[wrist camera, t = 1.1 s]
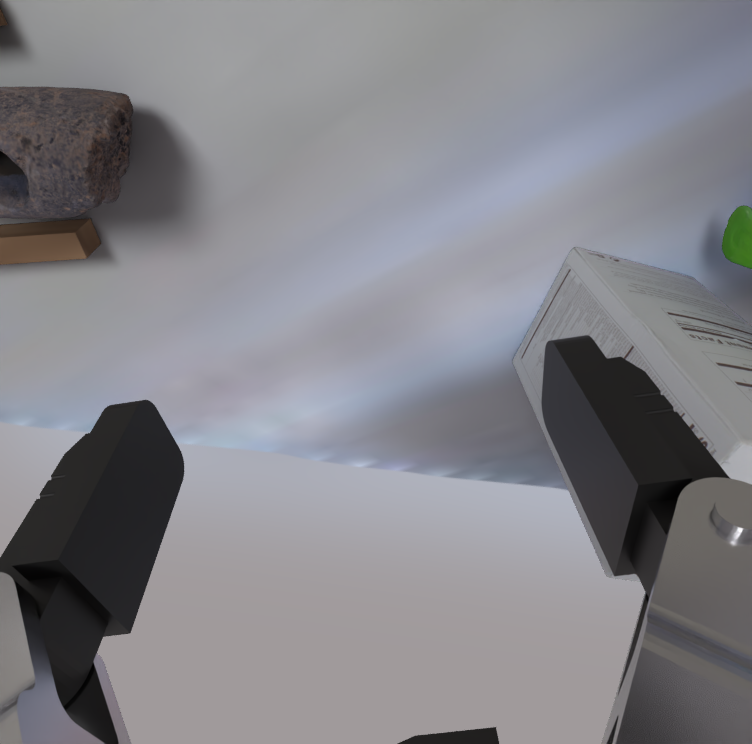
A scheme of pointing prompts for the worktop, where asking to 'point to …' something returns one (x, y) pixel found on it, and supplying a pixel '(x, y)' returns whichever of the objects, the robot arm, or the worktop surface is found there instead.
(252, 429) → the worktop surface
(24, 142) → the perforated stone tool
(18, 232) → the channel
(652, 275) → the supplement box
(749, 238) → the snack cup
